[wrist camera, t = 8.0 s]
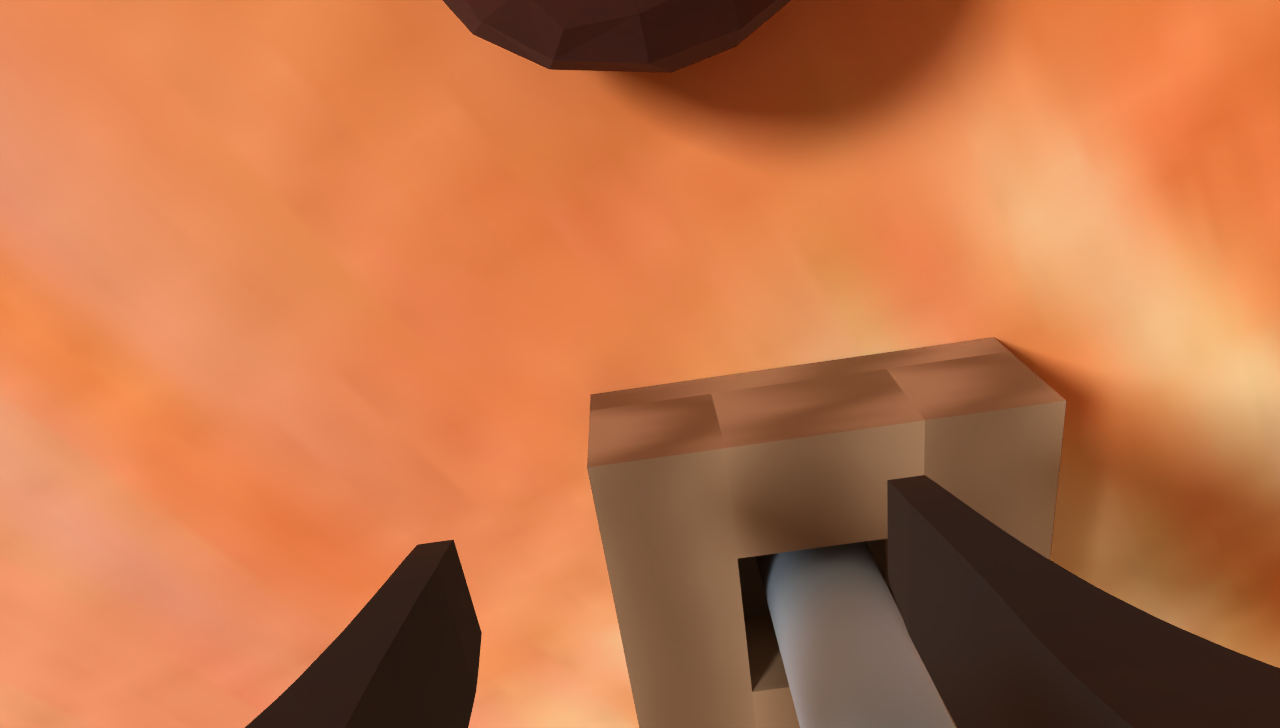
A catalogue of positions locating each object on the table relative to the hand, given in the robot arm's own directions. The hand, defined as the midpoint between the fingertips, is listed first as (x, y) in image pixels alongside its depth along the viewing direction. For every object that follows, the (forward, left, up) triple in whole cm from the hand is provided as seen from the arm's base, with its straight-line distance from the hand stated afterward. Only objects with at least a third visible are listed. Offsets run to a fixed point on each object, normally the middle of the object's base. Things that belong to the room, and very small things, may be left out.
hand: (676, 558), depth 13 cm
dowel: (-4, +8, -9) cm, 13 cm away
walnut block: (-4, +8, -10) cm, 14 cm away
